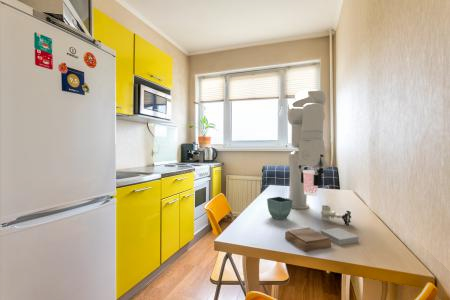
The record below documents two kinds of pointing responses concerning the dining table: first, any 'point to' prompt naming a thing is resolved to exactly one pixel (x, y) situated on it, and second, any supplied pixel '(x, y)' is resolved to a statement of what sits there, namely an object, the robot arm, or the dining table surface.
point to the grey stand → (340, 236)
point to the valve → (334, 215)
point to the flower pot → (279, 207)
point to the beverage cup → (309, 182)
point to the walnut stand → (308, 239)
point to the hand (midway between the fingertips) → (310, 183)
